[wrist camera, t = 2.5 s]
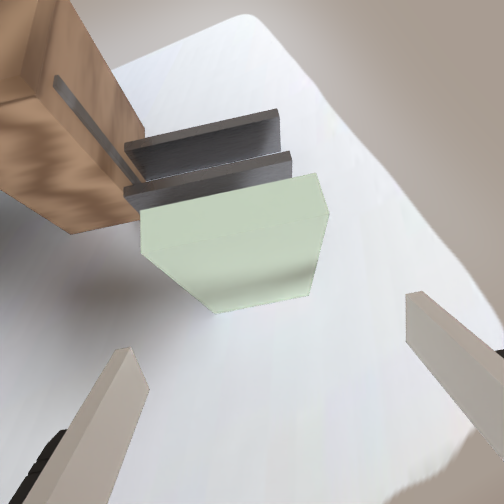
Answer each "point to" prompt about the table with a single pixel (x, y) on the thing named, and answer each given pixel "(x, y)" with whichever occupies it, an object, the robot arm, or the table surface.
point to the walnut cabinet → (62, 120)
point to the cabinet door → (240, 243)
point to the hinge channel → (207, 160)
